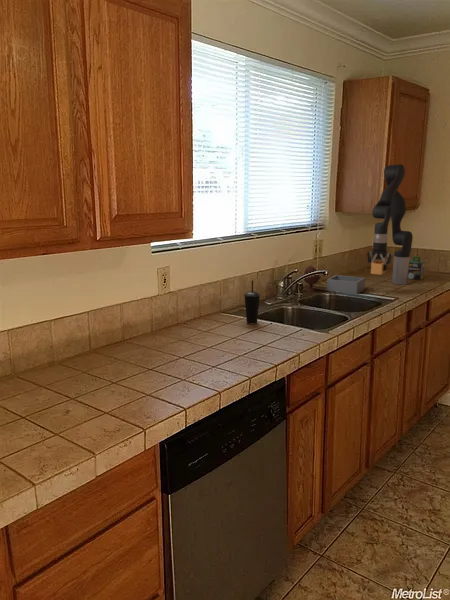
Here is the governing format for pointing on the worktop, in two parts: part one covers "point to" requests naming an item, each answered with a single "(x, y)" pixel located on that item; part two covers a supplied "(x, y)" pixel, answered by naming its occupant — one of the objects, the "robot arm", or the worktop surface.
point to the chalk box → (416, 269)
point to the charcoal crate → (346, 284)
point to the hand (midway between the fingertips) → (378, 270)
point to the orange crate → (377, 267)
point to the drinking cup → (252, 305)
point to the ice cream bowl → (311, 278)
